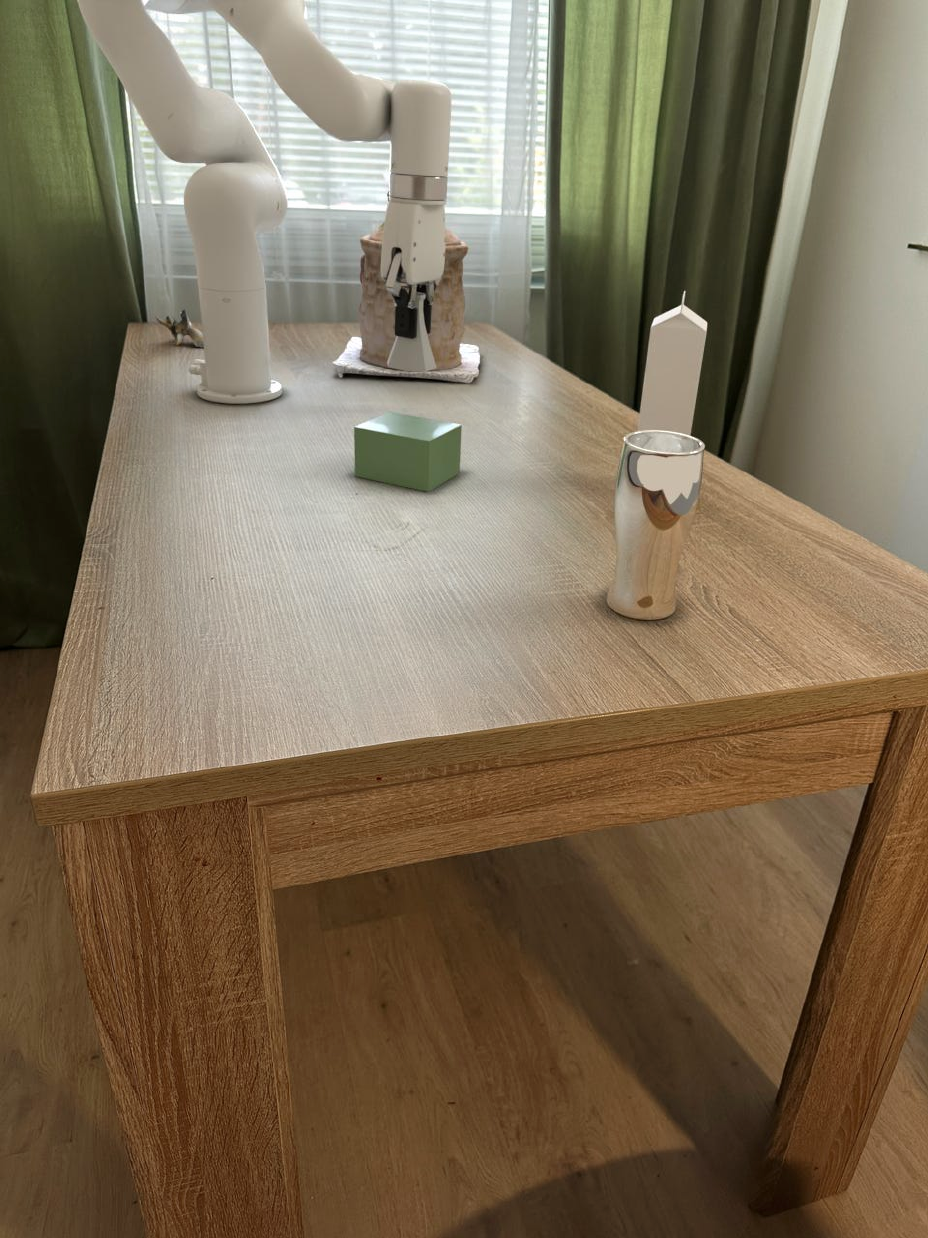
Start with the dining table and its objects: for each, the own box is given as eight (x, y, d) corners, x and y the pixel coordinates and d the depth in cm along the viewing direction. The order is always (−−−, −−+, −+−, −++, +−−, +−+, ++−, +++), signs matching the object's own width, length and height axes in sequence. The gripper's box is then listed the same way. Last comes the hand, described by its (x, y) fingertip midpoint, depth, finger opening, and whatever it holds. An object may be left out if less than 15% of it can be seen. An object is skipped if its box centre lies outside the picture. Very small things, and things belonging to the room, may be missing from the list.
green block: (354, 476, 109) (353, 426, 107) (389, 458, 116) (389, 411, 113) (428, 492, 106) (429, 441, 103) (460, 473, 112) (461, 424, 109)
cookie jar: (479, 385, 152) (490, 169, 137) (330, 378, 152) (324, 161, 137) (480, 353, 173) (489, 164, 158) (350, 347, 173) (346, 157, 158)
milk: (629, 491, 109) (653, 296, 98) (633, 475, 114) (656, 288, 104) (681, 497, 108) (711, 300, 97) (683, 480, 113) (712, 291, 102)
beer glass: (594, 587, 85) (612, 428, 78) (667, 587, 86) (692, 429, 79) (611, 623, 79) (633, 453, 72) (690, 622, 79) (719, 454, 72)
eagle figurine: (149, 337, 168) (182, 335, 164) (159, 301, 169) (191, 297, 164) (182, 355, 175) (214, 353, 170) (191, 320, 176) (223, 317, 171)
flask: (430, 375, 127) (434, 299, 122) (379, 369, 128) (381, 294, 123) (441, 364, 133) (445, 292, 129) (393, 358, 134) (395, 287, 130)
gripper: (423, 186, 128) (418, 322, 136) (359, 188, 115) (357, 339, 123) (471, 191, 125) (463, 330, 134) (411, 194, 112) (406, 348, 121)
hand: (412, 333), depth 128 cm, fingers closed on flask, 3 cm apart
